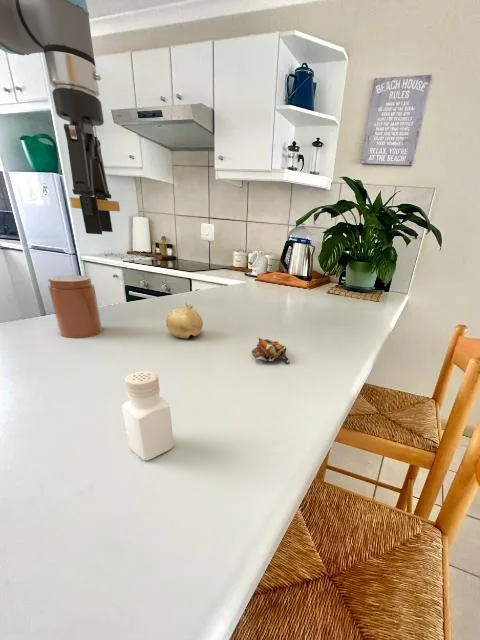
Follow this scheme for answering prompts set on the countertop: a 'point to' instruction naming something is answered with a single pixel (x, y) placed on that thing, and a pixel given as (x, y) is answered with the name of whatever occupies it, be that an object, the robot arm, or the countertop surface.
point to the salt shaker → (147, 416)
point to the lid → (101, 204)
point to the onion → (184, 322)
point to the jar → (75, 306)
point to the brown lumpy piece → (270, 350)
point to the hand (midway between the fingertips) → (100, 232)
